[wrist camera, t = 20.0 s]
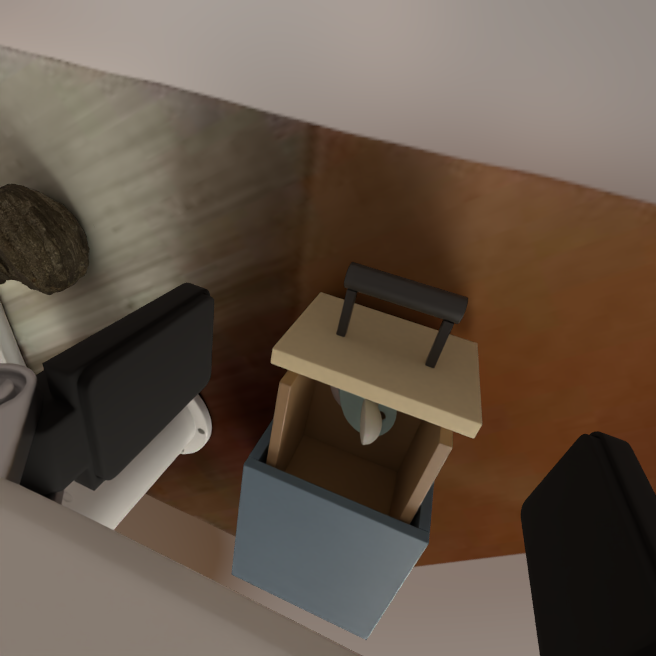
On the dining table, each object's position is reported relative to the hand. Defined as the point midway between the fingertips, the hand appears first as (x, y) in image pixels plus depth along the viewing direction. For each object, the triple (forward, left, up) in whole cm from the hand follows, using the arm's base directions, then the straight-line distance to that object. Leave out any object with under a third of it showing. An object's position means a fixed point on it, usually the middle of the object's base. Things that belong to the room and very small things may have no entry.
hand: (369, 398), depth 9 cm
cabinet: (0, -25, -19) cm, 32 cm away
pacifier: (-1, -13, -17) cm, 21 cm away
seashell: (-32, -10, -19) cm, 39 cm away
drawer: (0, -12, -18) cm, 22 cm away
